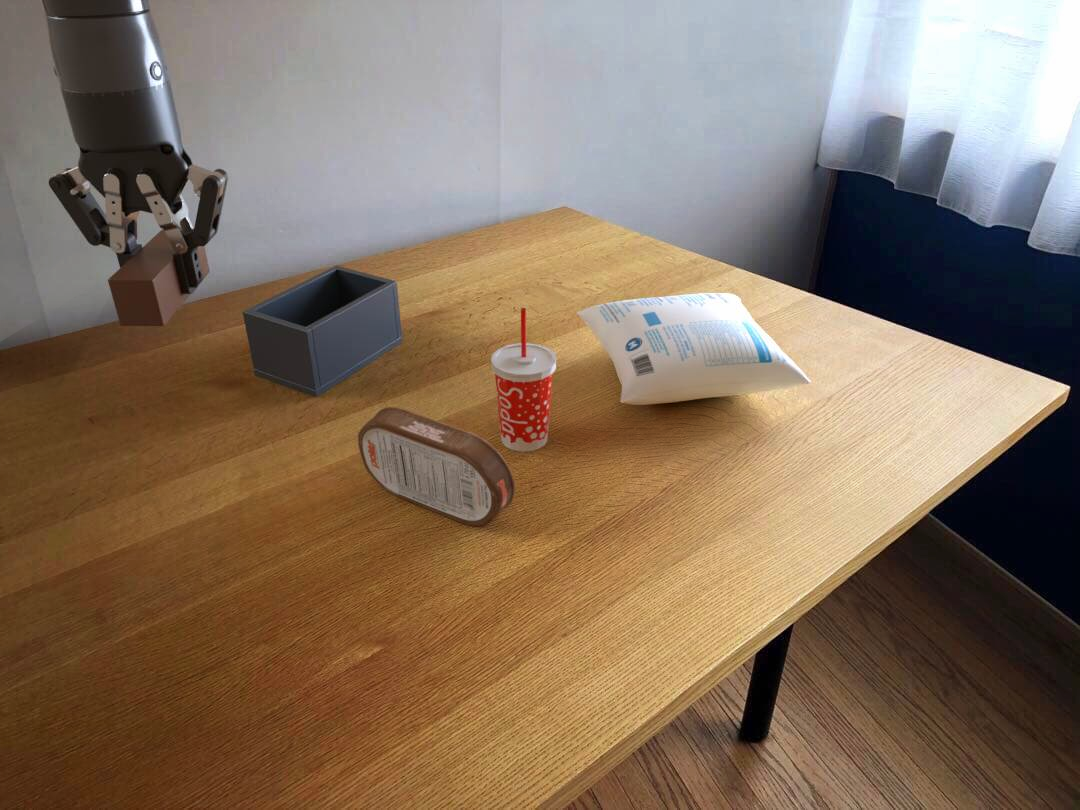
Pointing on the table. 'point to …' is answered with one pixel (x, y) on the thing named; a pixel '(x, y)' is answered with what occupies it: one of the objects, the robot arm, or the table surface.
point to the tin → (436, 466)
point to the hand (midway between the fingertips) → (166, 289)
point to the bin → (323, 329)
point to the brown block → (150, 284)
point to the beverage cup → (523, 392)
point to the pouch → (689, 348)
